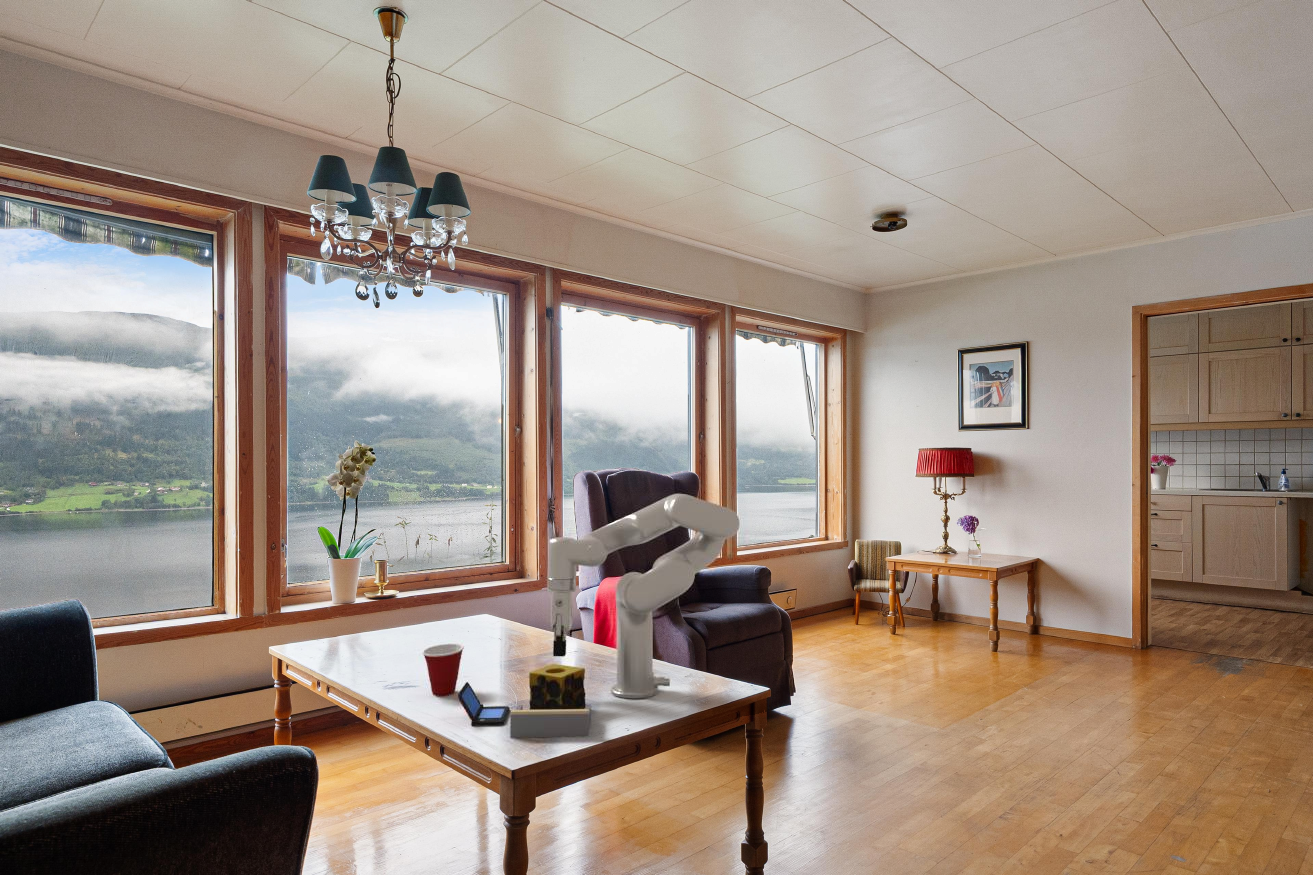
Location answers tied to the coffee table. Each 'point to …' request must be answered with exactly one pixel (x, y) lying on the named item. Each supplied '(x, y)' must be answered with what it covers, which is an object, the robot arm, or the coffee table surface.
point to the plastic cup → (443, 667)
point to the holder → (550, 722)
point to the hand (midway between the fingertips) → (559, 655)
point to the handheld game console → (481, 709)
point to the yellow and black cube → (557, 688)
